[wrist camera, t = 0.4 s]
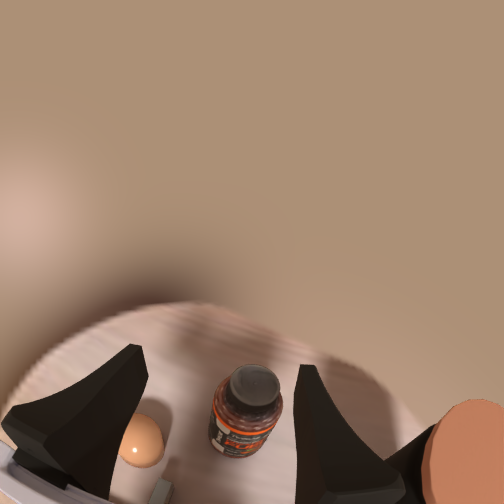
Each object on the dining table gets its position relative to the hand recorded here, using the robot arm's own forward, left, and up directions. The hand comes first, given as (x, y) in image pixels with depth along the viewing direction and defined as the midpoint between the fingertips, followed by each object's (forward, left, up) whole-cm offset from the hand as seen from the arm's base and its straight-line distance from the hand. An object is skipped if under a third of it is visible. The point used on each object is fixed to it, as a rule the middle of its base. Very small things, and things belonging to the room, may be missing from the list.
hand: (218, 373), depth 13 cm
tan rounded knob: (0, +7, -20) cm, 21 cm away
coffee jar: (-3, -17, -20) cm, 26 cm away
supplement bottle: (+6, -2, -20) cm, 21 cm away
